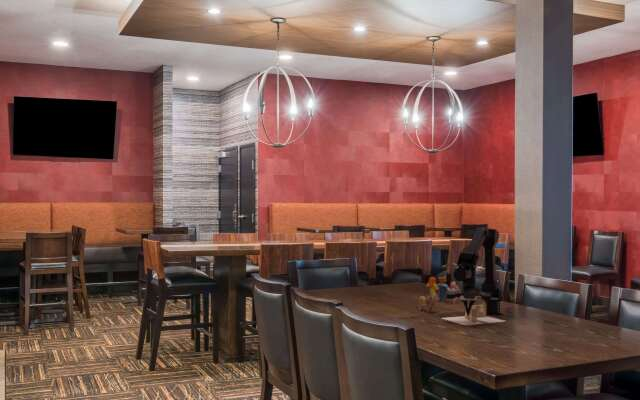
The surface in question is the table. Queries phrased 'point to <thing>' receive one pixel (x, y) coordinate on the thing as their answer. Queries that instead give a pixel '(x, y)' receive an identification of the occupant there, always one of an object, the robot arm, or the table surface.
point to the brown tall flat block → (472, 315)
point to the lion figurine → (428, 301)
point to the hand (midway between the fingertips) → (467, 315)
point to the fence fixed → (480, 310)
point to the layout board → (465, 321)
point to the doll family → (441, 288)
